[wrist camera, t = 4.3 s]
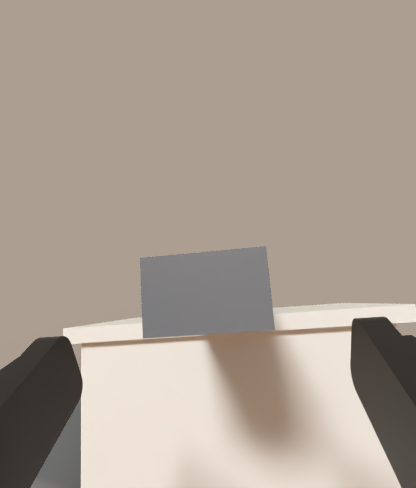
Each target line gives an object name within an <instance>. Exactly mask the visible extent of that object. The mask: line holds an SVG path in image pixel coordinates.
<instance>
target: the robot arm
mask: <svg viewBox="0 0 416 488" xmlns="http://www.w3.org/2000/svg"><path fill="white" fill-rule="evenodd" d="M350 369H351V376H352V381H353V384H354V387H355V390H356V392H357V395H358V397H359V399H360V401H361V403H362V405H363V407H364V409H365V411H366V414H367V416H368V418H369V420H370V422H371V424H372V426H373V428H374V430H375V433H376V435H377V437H378V439H379V441H380V443H381V445H382V447H383V450H384V452H385V454H386V456H387V458H388V460H389V462H390V464H391V466H392V469H393V471H394V473H395V475H396V477H397V479H398V481H399V483H400V485H401V488H416V338H415V337H414V336H412V335H406V336H402V335H401V334H400V333H399V332H398V330H397V329H396V328H395V327H394V325H393V324H392V323H391V322H390V321H389V319H388V318H386V317H369V318H354V319H353V321H352V328H351V360H350ZM82 388H83V381H82V376H81V373H80V370H79V367H78V364H77V361H76V357H75V355H74V351H73V348H72V345H71V342H70V340H69V339H68V338H67V337H65V336H59V337H44V338H38V339H36V340H35V341H34V342H33V343H32V344H31V345H30V346H29V347H28V348H27V349H26V350H25V352H24V353H23V354H22V355H21V356H20V357H18V358H17V359H15V360H14V361H13V362H11V363H10V364H8V365H7V366H5V367H4V368H2V369H1V370H0V488H30V487H31V485H32V483H33V481H34V480H35V478H36V476H37V474H38V473H39V471H40V469H41V467H42V466H43V464H44V462H45V460H46V458H47V457H48V455H49V453H50V451H51V450H52V448H53V446H54V444H55V443H56V441H57V439H58V437H59V436H60V434H61V432H62V430H63V428H64V426H65V425H66V423H67V421H68V420H69V418H70V416H71V414H72V413H73V411H74V409H75V407H76V405H77V404H78V402H79V400H80V397H81V394H82Z"/></svg>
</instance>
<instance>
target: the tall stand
mask: <svg viewBox="0 0 416 488" xmlns="http://www.w3.org/2000/svg"><path fill="white" fill-rule="evenodd" d="M273 316H274V325H275V330H271V331H256V332H240V333H224V334H209V335H193V336H177V337H162V338H146V339H143V329H142V317H140V318H132V319H125V320H118V321H111V322H105V323H98V324H91V325H84V326H78V327H71V328H65V329H63V336H65V337H67V338H68V339H69V340H70V342H71V344H75V343H81V346H82V347H81V376H82V381H83V388H82V394H81V488H401V485H400V483H399V481H398V479H397V477H396V475H395V473H394V471H393V469H392V466H391V464H390V462H389V460H388V458H387V456H386V454H385V452H384V450H383V447H382V445H381V443H380V441H379V439H378V437H377V435H376V433H375V430H374V428H373V426H372V424H371V422H370V420H369V418H368V416H367V414H366V411H365V409H364V407H363V405H362V403H361V401H360V399H359V397H358V395H357V392H356V390H355V387H354V384H353V381H352V376H351V369H350V360H351V328H352V321H353V319H354V318H369V317H386V318H388V319H389V321H390V322H391V323H392V324H393V325H394V327H395V328H396V329H397V325H396V323H404V322H416V307H415V305H414V304H374V303H373V304H372V303H371V304H370V303H338V304H337V303H336V304H322V305H308V306H294V307H282V308H281V307H280V308H273Z"/></svg>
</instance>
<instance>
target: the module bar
mask: <svg viewBox="0 0 416 488" xmlns="http://www.w3.org/2000/svg"><path fill="white" fill-rule="evenodd" d="M140 268H141V296H142V329H143V339H146V338H162V337H177V336H193V335H209V334H224V333H240V332H256V331H271V330H275V325H274V316H273V307H272V298H271V288H270V279H269V270H268V261H267V252H266V247H255V248H244V249H233V250H223V251H211V252H201V253H190V254H179V255H168V256H157V257H147V258H140Z"/></svg>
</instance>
